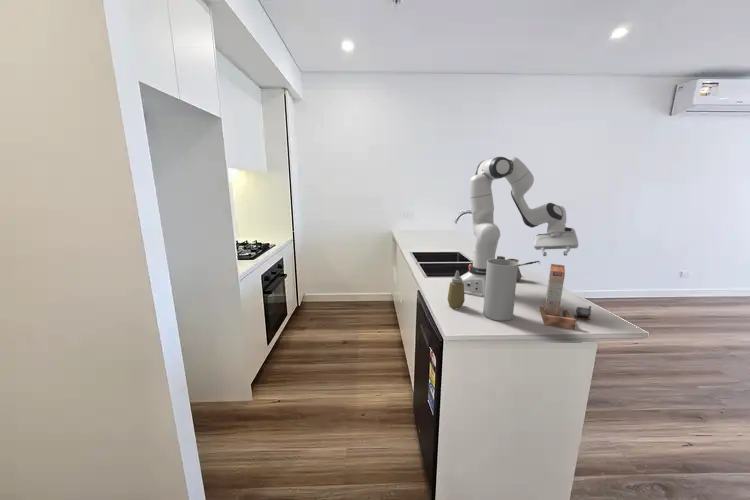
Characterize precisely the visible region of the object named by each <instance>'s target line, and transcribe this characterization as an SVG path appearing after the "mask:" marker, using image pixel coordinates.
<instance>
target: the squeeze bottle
mask: <svg viewBox="0 0 750 500" xmlns="http://www.w3.org/2000/svg"><path fill="white" fill-rule="evenodd" d="M460 277H461V275H460V271H459V270H455V274H454V276H453V277H452V278H451V282H449V287H448V292H447V302H448V306H449V307H450V308H452V309H456V308H458V309H462V307H463V305H464V303H465V301H466V300H465V293H464V284H463V283H462V278H460Z"/></svg>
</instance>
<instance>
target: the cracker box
mask: <svg viewBox="0 0 750 500" xmlns="http://www.w3.org/2000/svg"><path fill="white" fill-rule="evenodd" d="M565 275H566V269H565V265H564V264H563V265H562V264H556V263H550V269H549V275H548V276H549V277H548V283H547V288H546V289H547V290H546V297H545V305H544V309H545V312H546V314H547V315H551V316H559V315H560V308H561V302H562V301H561V300H562V294H563V288H564V283H565V282H564V281H565ZM559 317H560V316H559Z"/></svg>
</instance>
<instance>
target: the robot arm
mask: <svg viewBox="0 0 750 500" xmlns="http://www.w3.org/2000/svg"><path fill="white" fill-rule="evenodd" d="M476 167H477V168H476V171H475V174H474V175H473V176H471V178H470V179H469V186H468V187H469V198H470V199H469V200H470V204H471V205H470V206H471V213H472V214H471V215H472V216H471V217H472V229H473V230H472V231H473V235H474V236H475V238H476V240H475V247H474V250H473V257H472V258H473V259H472V264H471V263H470V264H469V265H467V266H468V271H467V272H466V273H464V274H462V275H460V278H462V283H463V284H464V294H466V295H472V296H476V297H484V294H485V282H486V269H487V260H489V259H496V251H497V247H498V243H499V240H500V238H501V231H500V228H499V227H498V225H496V223H495V222H494V221H495V220H494V210H495V205H494V197H493V191H492V183H493V181H494V180H499V179H503V178H505V179H506V181H507V182H508V184H509V185H510V187H511V190H510V195H511V199H512V201H513V202H514V204H515V206H516V208H517V210H518V212H519V213H520V215H521V219H522V221H523V223H524V225H525V226H526V227H529V228H535V227H538V226H540V225H543V224H546V223H547V224H548V225H547V228H546V233H538V234H536V235H535V236H534V242H533V248H534V249H535V250H536V251H537V250H539V251H541V253H542V257H547V256H548V255H547V251H546V250H563V256H566V257H567V256H568V253H569V252H570V251H571V250H572V249H578V248H579V240H578V236H577V233H576V230H575V228H573V227H567V226H566V224H567V211H566V208H565V207H564V206H562V205H559V204H555V203H553V202H548V203H544V204H542V205H540V206H537V207H534V208H530V207H529V205H528V203H527V202H526V201H527V200H526V199H525V197H524V196H525V194H526V193H528V192H529V190H531V188H532V186H533V184H534V182H535V181H534V180H535V178H534V175H533V173H532V172H531V171H530V169H529V168H528V167H527V166H526V164H525V163H524V162H522V160H521V159H519V158H518V157H516V156H512V157H508V158H507V157H504V156H496V157H490V158H487V159H485V160H482V161H480V162H479V164H478V165H477V166H476ZM564 249H565V250H564Z"/></svg>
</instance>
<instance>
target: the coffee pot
mask: <svg viewBox="0 0 750 500" xmlns="http://www.w3.org/2000/svg"><path fill="white" fill-rule="evenodd" d="M506 260H512V261H515V262H517V263H518V270H517V280H516V282H518V281H520V280H521V279H522V277H523V276H522V273H521V270H520V268H519V267H520V266H522V267H523V266H528V265H533V264H536V263H538V264H540V263H541V261H540V260H535V261H530V262H526V263H525V262H524V263H521V264H519V261H520V260H519V259H517V258H507V259H506Z"/></svg>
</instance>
